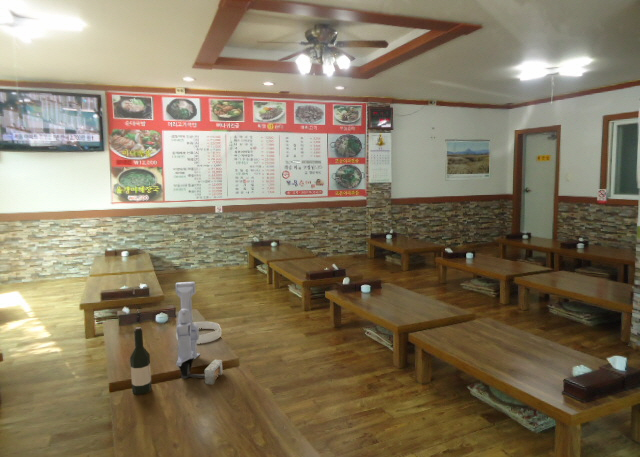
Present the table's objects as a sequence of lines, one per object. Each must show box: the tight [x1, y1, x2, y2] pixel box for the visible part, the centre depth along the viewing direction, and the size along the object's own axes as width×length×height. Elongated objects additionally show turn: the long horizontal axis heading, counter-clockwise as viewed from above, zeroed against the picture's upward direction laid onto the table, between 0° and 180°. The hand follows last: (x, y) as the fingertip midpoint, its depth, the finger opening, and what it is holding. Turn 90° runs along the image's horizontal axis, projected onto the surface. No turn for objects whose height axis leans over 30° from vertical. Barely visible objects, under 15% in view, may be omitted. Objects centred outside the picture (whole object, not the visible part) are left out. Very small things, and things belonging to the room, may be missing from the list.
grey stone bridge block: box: [204, 359, 224, 385], centre depth 219 cm, size 4×12×7 cm, turn 171°
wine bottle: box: [129, 326, 153, 396], centre depth 207 cm, size 8×8×30 cm
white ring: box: [176, 320, 223, 345], centre depth 279 cm, size 27×27×6 cm
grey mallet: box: [180, 365, 220, 381], centre depth 220 cm, size 19×4×6 cm, turn 81°
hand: (186, 374), depth 222 cm, fingers closed on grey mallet, 3 cm apart
